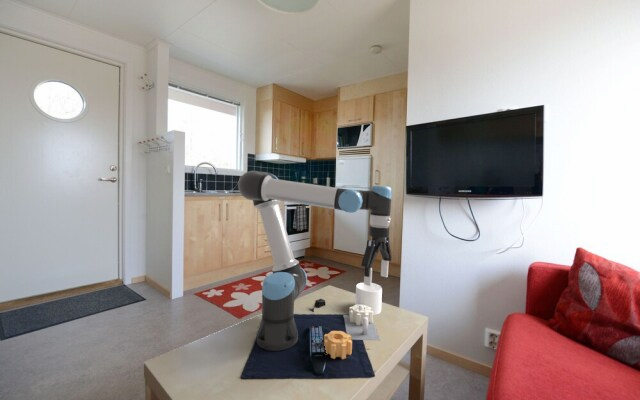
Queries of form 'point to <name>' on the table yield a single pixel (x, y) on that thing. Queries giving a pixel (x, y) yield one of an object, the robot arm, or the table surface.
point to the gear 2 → (360, 314)
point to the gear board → (361, 329)
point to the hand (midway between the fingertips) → (376, 280)
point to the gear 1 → (338, 344)
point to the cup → (369, 296)
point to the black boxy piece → (318, 304)
